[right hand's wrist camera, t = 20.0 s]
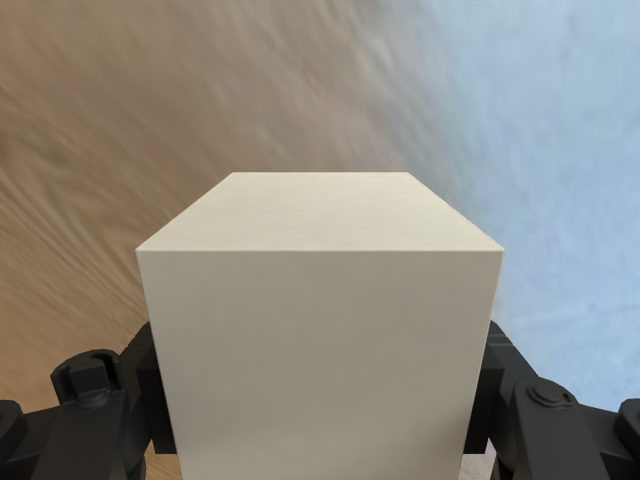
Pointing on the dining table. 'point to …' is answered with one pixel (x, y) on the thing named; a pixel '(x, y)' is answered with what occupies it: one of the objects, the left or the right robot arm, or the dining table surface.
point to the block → (319, 327)
